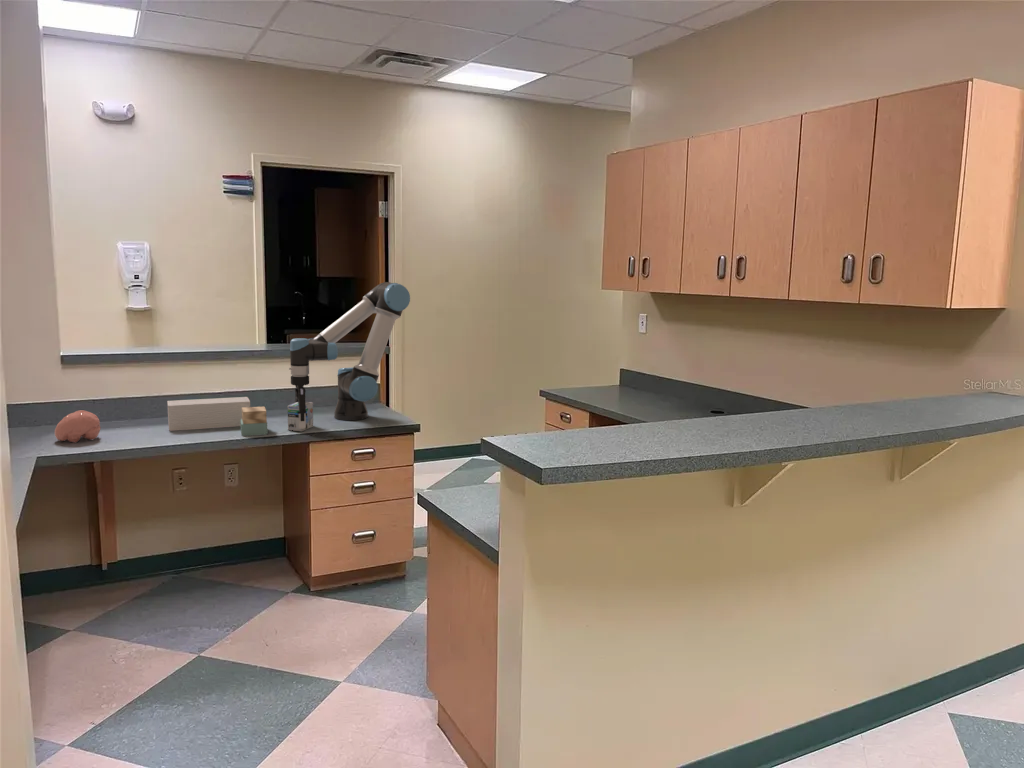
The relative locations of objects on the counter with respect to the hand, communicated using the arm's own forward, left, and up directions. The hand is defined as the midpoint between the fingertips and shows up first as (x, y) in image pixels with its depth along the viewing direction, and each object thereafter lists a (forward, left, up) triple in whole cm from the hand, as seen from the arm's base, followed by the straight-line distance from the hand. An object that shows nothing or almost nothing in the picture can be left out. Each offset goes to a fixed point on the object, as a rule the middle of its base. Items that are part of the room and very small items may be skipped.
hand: (300, 425), depth 314 cm
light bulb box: (0, 0, -2) cm, 2 cm away
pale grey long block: (+36, -15, -2) cm, 39 cm away
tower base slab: (+19, +2, -2) cm, 19 cm away
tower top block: (+19, +2, +3) cm, 19 cm away
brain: (+83, -1, -2) cm, 83 cm away
